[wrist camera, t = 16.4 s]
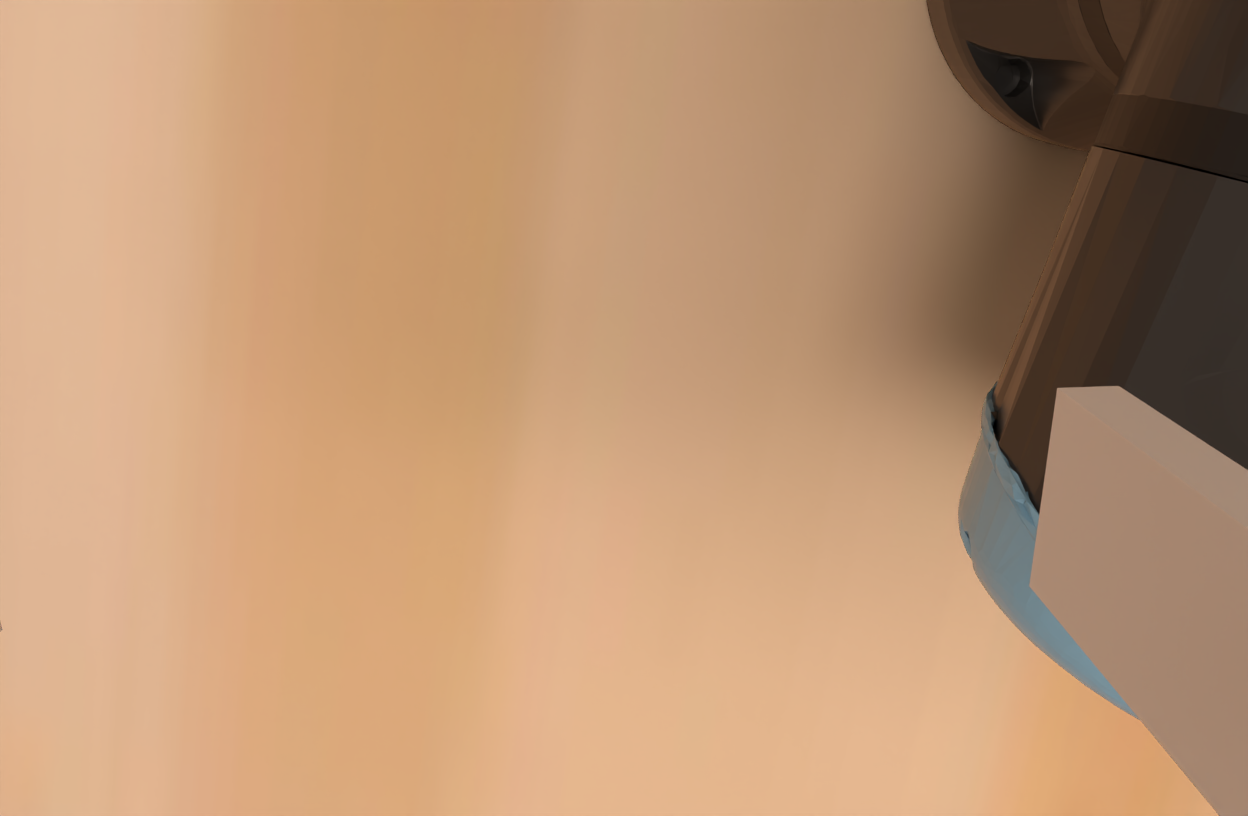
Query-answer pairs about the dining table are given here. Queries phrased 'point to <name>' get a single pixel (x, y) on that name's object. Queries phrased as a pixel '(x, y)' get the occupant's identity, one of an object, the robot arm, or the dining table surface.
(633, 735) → the dining table surface
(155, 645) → the dining table surface
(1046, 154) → the dining table surface
